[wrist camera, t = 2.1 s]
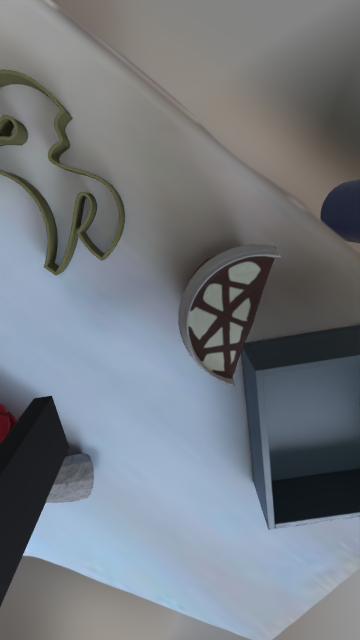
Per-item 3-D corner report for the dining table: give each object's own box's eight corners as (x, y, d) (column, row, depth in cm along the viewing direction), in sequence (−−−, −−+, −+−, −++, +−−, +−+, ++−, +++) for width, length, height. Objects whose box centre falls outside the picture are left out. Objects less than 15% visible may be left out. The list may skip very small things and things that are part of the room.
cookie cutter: (-74, 151, 28) (-91, 146, 26) (6, 43, 26) (-7, 30, 24) (75, 289, 33) (69, 293, 31) (154, 208, 31) (153, 207, 29)
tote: (391, 320, 35) (438, 342, 29) (380, 465, 42) (416, 509, 36) (240, 343, 36) (255, 370, 29) (254, 484, 43) (268, 530, 36)
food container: (193, 223, 31) (203, 227, 22) (250, 239, 32) (284, 249, 22) (164, 333, 35) (163, 376, 25) (216, 344, 36) (232, 391, 26)
